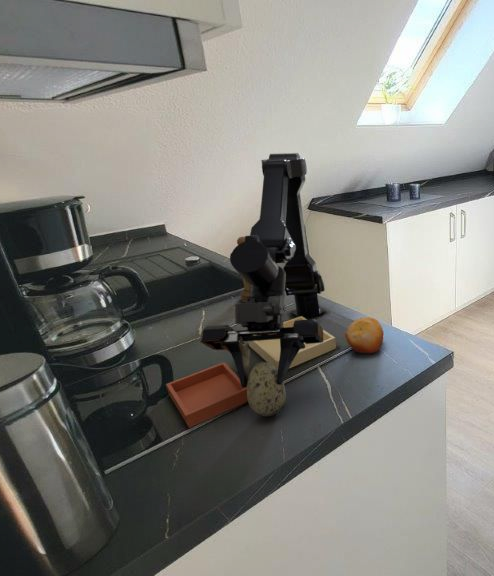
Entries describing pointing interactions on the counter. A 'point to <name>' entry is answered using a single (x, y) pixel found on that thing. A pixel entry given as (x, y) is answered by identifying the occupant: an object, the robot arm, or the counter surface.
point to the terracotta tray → (207, 393)
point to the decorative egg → (265, 390)
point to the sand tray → (272, 351)
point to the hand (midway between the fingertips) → (261, 385)
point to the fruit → (365, 335)
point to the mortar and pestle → (247, 286)
